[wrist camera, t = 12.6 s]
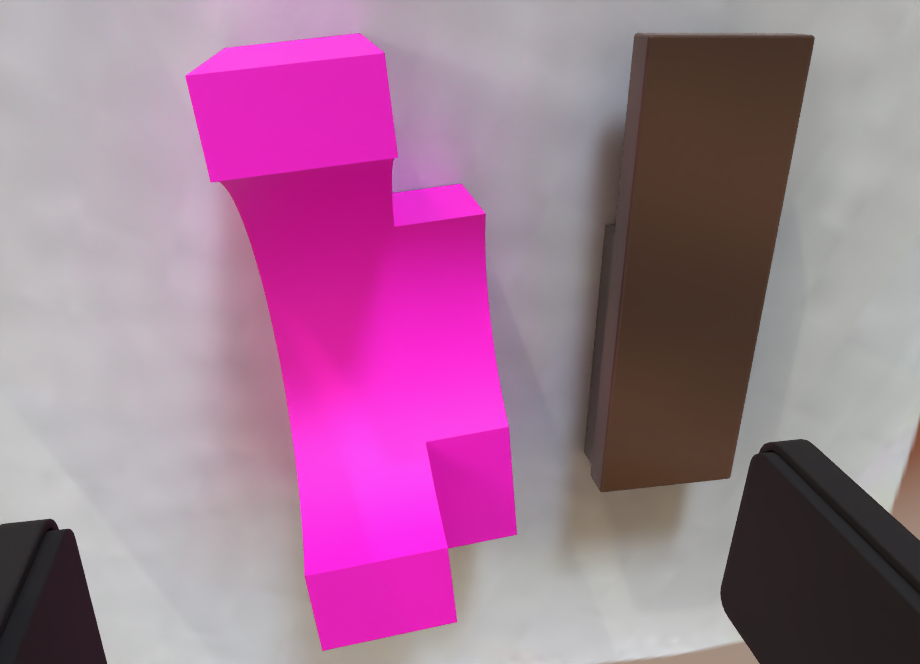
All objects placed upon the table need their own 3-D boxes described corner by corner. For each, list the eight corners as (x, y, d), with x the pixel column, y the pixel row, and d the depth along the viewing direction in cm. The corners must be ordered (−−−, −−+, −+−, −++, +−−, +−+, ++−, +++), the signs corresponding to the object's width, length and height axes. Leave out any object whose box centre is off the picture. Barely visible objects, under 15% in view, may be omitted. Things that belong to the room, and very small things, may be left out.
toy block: (486, 456, 28) (543, 603, 21) (318, 487, 27) (322, 650, 20) (446, 23, 21) (510, 38, 15) (224, 48, 21) (185, 75, 14)
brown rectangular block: (613, 30, 22) (649, 34, 20) (765, 30, 23) (816, 35, 21) (576, 453, 29) (599, 493, 26) (697, 440, 29) (730, 479, 27)
